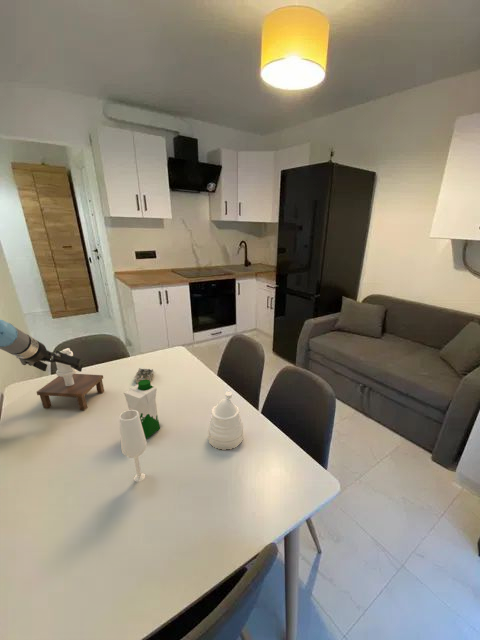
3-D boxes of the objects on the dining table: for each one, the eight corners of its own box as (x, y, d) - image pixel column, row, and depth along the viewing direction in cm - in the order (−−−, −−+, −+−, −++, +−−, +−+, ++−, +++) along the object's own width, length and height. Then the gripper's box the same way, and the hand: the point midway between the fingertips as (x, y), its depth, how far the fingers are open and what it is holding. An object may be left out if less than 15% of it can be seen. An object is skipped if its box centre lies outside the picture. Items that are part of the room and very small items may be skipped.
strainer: (83, 381, 123) (76, 348, 118) (70, 389, 117) (62, 355, 111) (69, 379, 124) (60, 347, 119) (55, 387, 118) (46, 353, 112)
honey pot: (222, 422, 115) (221, 383, 108) (249, 434, 109) (251, 393, 102) (200, 441, 104) (198, 399, 97) (229, 455, 99) (229, 411, 92)
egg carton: (150, 384, 139) (149, 377, 137) (134, 384, 138) (132, 377, 136) (155, 373, 148) (154, 366, 147) (139, 374, 147) (138, 366, 146)
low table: (41, 408, 118) (36, 391, 115) (67, 388, 132) (63, 372, 129) (85, 411, 118) (81, 394, 114) (106, 390, 132) (102, 375, 129)
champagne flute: (138, 493, 84) (126, 426, 74) (123, 483, 87) (109, 417, 77) (156, 477, 89) (147, 412, 79) (141, 468, 92) (131, 405, 82)
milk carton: (163, 428, 110) (158, 382, 102) (145, 442, 103) (138, 394, 95) (146, 421, 113) (140, 376, 106) (127, 434, 106) (119, 387, 98)
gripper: (-16, 358, 94) (28, 376, 114) (64, 359, 96) (93, 377, 116) (-9, 337, 97) (33, 358, 117) (69, 339, 99) (97, 359, 119)
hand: (63, 368), depth 117 cm, fingers open, 13 cm apart
